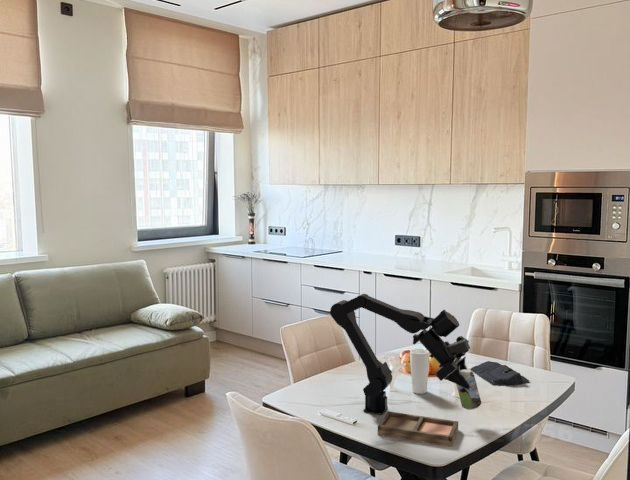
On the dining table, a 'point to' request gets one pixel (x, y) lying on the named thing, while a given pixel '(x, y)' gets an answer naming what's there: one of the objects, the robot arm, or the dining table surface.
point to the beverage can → (469, 391)
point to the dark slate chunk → (498, 374)
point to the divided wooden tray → (418, 428)
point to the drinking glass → (419, 370)
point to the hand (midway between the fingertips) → (470, 384)
